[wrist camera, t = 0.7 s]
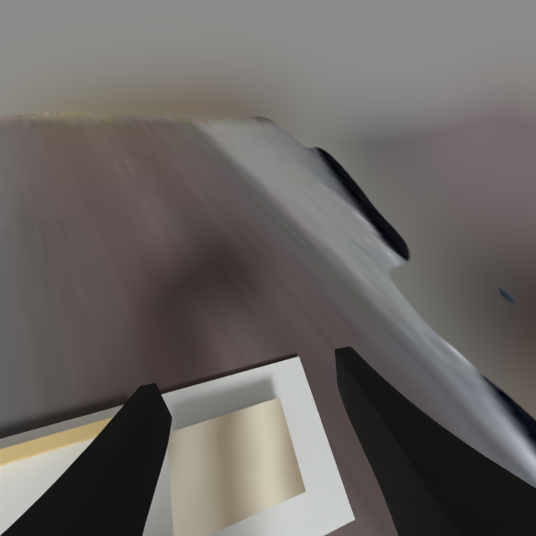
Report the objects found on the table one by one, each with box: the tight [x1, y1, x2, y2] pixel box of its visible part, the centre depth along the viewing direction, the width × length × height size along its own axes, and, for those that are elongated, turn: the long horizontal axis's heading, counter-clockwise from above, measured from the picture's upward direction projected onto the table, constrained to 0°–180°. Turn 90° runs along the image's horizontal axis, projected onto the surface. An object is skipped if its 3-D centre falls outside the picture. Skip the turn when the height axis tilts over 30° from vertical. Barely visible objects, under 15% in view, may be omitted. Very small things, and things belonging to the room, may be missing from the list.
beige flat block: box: [168, 397, 306, 536], centre depth 21 cm, size 10×7×2 cm
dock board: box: [0, 357, 355, 536], centre depth 20 cm, size 14×32×2 cm, turn 106°
